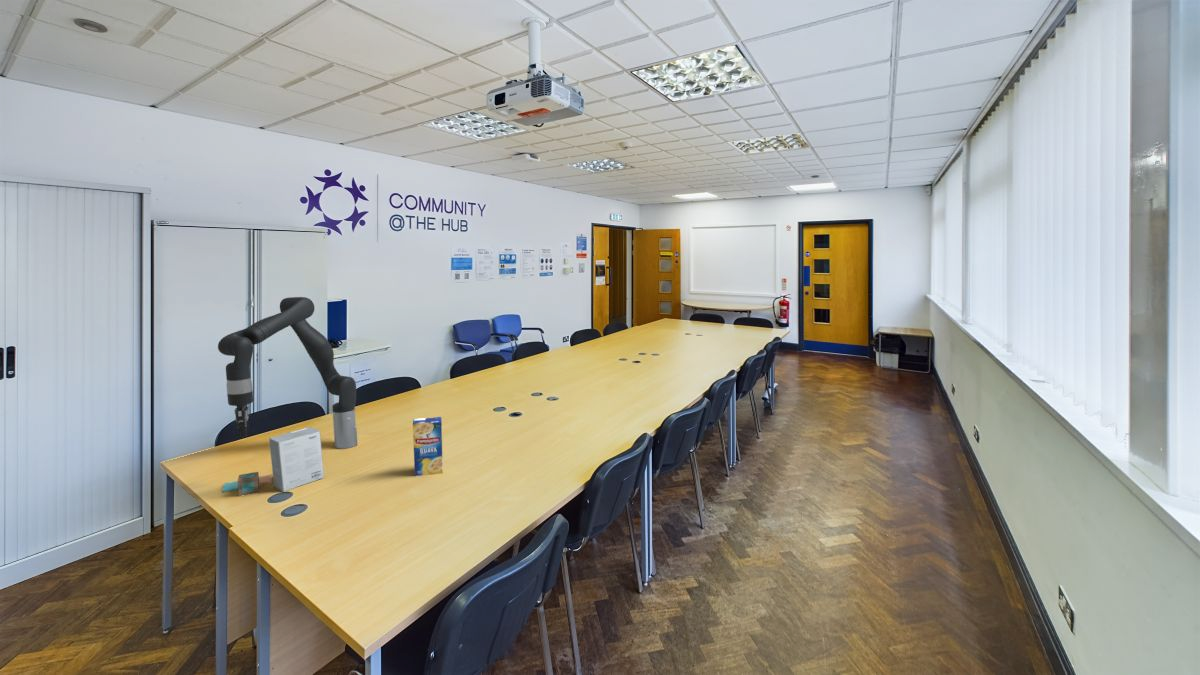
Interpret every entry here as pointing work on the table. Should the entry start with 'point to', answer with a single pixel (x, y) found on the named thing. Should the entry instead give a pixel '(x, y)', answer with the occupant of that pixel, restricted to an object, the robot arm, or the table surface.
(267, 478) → the pad terracotta
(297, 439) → the hard drive box
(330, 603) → the table surface
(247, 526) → the table surface
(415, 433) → the blue food box
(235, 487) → the pad teal
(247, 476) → the cube
